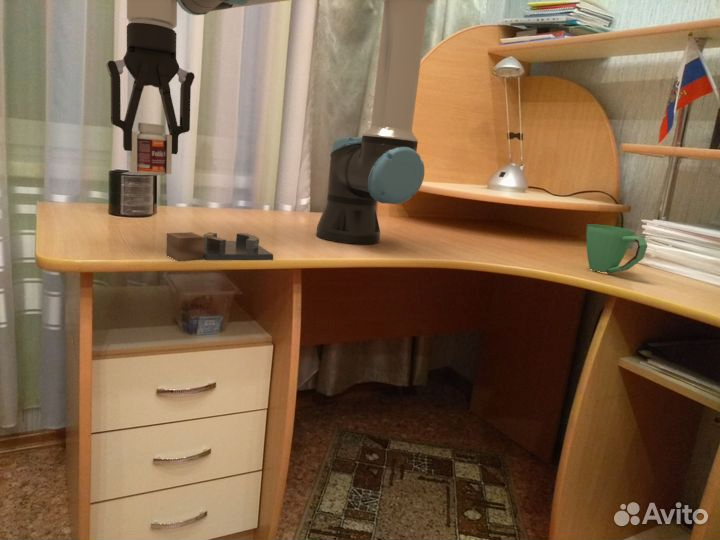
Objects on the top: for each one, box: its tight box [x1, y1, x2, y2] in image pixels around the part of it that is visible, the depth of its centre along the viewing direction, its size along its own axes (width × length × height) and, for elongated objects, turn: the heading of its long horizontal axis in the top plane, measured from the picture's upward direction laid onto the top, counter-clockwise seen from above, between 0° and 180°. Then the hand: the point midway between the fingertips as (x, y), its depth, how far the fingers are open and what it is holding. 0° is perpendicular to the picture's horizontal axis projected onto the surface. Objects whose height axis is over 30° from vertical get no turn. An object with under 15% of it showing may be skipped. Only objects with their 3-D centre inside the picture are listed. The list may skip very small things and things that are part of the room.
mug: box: [585, 223, 648, 274], centre depth 120 cm, size 15×10×10 cm
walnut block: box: [165, 232, 205, 262], centre depth 92 cm, size 4×4×4 cm
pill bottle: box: [135, 122, 166, 176], centre depth 92 cm, size 5×5×8 cm
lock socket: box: [202, 232, 274, 261], centre depth 100 cm, size 12×12×3 cm
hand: (150, 172), depth 93 cm, fingers closed on pill bottle, 5 cm apart
